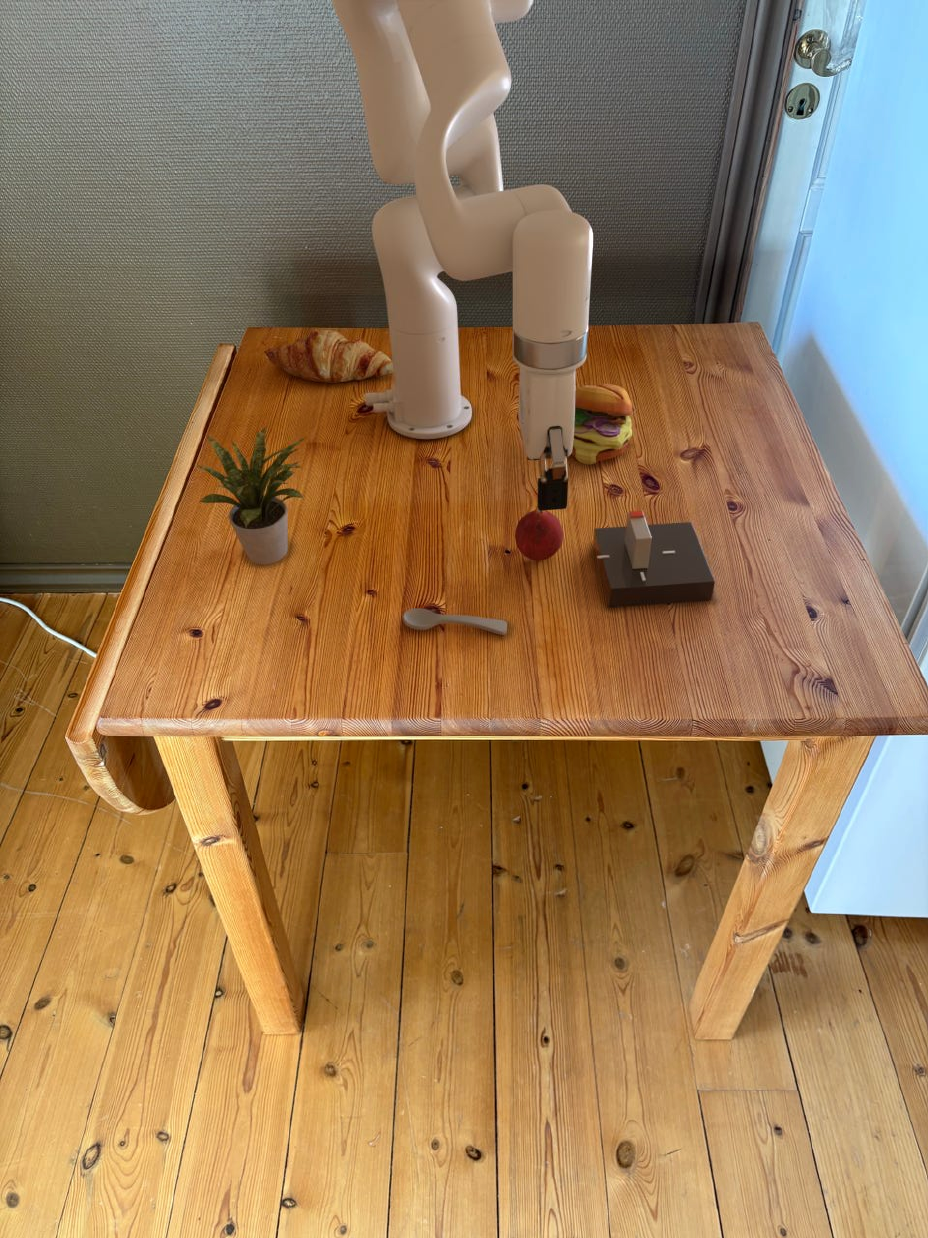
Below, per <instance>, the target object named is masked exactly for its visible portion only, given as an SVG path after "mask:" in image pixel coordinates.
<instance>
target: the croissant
mask: <svg viewBox="0 0 928 1238" xmlns="http://www.w3.org/2000/svg"><path fill="white" fill-rule="evenodd" d="M266 354H267V355H266V356H267V358H268V360H269V361H270V363H272V364H274V365H276V366H278V367H280V368H282V370H283V371H284V372H286V373H287V374H289V375H291V376H293V377H298V378H301V379H302V380H305V381H310V382H315V383H317V382H321V383H326V384H337V383H344V382H351V381H353V380H355V381H361V380H362V381H363V380H365V379H370V378H372V377H378V378H379V377H380V378H381V377H384V376H389V375H391V374H393V363H392V359H390V357H389V356H388V355H387V354H385V352H383V351H381V350H375V349H374V348H372V347H371V346H370V345H369V344H368V343H367V342H365V341H364V339H362V338H360V339H353V340H349V339H348V338H345V336H344V335H343V334H342V333H340V332H338V331H336V330H334V329H322V328H320V329H316V330H314V329H313V330H312V331H310V334H309V336H308V337H299V338H297V339H296V340H294V343H292V344H291V343H284V344H283V343H282V344H280V345H279V346H277V347H276V348H268V349H267V351H266Z"/></svg>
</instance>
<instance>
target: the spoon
mask: <svg viewBox="0 0 928 1238" xmlns="http://www.w3.org/2000/svg"><path fill="white" fill-rule="evenodd" d="M402 622H403V623H404V625H405V626H406V627H408V628H410V629H411V630H415V631H428V630H430V629H433V628H434V627H435V626H438V625H443V624H454V625H463V626H468V627H472V628H477V629H481V630H484V631H487V632H490V633H494V634H495V635H500V636H505V635H507V631H508V622H507V621H505V620H503V619H499V618H498V619H497V618H487V617H480V616H474V615H465V614H442V613H441V614H439V613H435V612H434V611H432V610H430V609H427V608H422V607H421V608H418V607H417V608H416V607H415V608H411V609H408V610H407V611H405V612H404V613H403V615H402Z"/></svg>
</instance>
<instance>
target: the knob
mask: <svg viewBox="0 0 928 1238" xmlns="http://www.w3.org/2000/svg"><path fill="white" fill-rule="evenodd" d="M626 517H627V518H626V526H625V527H626V534H625V545H626V548H627V551H628V555H629V558H630V562H631V565H632V568H633V569H639V568H648V562H649V555H650V547H651V540H652V537H651V534H650V531H649V528H648V525H649V524H648V522H647V520H646V517H645V514H644V511H643V510H631V511H628V512H627V516H626Z"/></svg>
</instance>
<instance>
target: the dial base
mask: <svg viewBox="0 0 928 1238" xmlns="http://www.w3.org/2000/svg"><path fill="white" fill-rule="evenodd" d="M647 525H648V528H649V531H650V534H651V537H652V540H651V547H650V555H649V562H648V568H639V569H633V568H632V565H631V562H630V558H629V555H628V551H627V548H626V545H625V534H626V526H616V527H615V526H614V527H601V528H598V527H597V528H594V531H593V543H592V549H593V553H594V557H595V560H596V564H597V568H598V571H599V576H600V579H601V583H602V588H603V590H604V595H605V599H606V602H607V606H608V608H609V609H610V608H626V607H639V606H652V605H666V604H679V603H680V604H681V603H695V602H709V601H712V598H713V593H714V588H715V584H716V580H715V578H714V575H713V573H712V570H711V567H710V565H709V563H708V560H707V557H706V554H705V552H704V549H703V547H702V545H701V543H700V539H699V537H698V534H697V531H696V529H695V527H694V524H693V522H692V521H685V522H684V521H683V522H671V523H670V522H669V523H656V524H647Z"/></svg>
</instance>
